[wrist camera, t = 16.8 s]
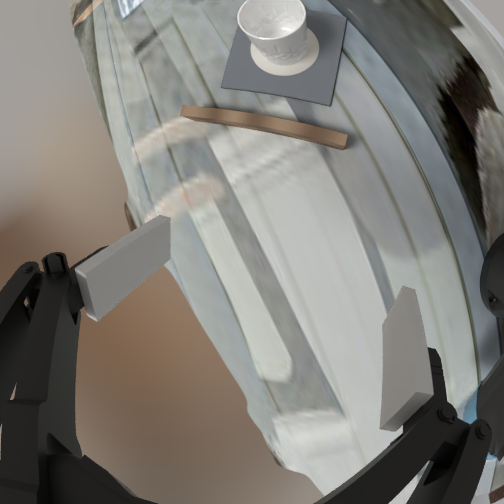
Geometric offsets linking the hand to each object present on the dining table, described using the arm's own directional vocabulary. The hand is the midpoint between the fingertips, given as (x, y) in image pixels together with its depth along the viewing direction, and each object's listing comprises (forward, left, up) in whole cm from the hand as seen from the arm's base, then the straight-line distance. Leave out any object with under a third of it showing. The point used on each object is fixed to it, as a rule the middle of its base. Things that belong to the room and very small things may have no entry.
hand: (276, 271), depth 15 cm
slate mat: (+8, -24, -26) cm, 36 cm away
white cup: (+8, -23, -25) cm, 35 cm away
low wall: (+8, -10, -26) cm, 29 cm away
